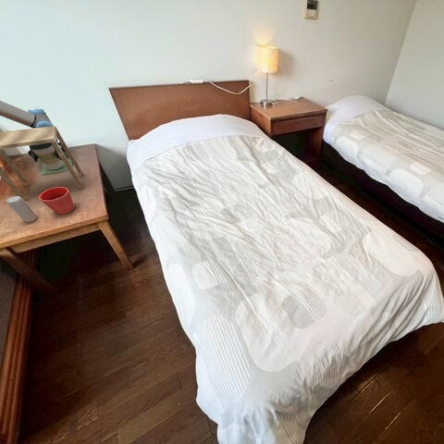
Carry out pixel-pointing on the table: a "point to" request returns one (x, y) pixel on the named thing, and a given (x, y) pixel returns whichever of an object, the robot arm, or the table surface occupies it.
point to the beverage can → (22, 208)
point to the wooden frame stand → (32, 138)
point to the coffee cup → (46, 155)
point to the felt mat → (48, 171)
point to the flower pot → (58, 200)
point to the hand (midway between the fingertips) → (46, 157)
